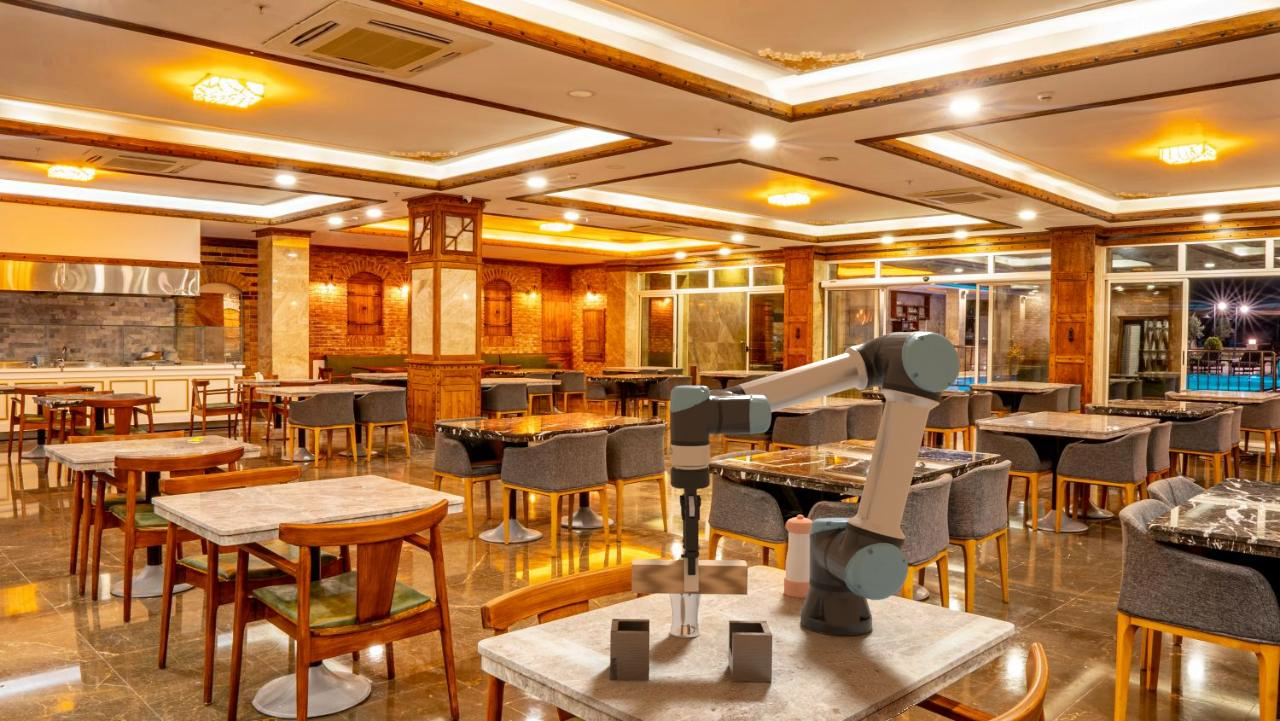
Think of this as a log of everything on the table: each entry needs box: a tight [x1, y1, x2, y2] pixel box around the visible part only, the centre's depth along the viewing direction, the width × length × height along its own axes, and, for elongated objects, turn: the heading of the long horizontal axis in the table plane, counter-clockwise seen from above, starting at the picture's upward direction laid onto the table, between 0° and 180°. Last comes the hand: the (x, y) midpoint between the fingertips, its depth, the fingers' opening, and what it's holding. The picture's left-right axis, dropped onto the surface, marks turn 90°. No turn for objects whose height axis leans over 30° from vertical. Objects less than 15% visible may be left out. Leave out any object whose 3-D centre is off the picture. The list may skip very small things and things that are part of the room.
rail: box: [631, 558, 749, 596], centre depth 168 cm, size 22×4×6 cm, turn 89°
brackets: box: [609, 618, 773, 683], centre depth 161 cm, size 29×8×8 cm, turn 89°
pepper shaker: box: [783, 514, 814, 599], centre depth 212 cm, size 7×7×19 cm
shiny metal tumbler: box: [669, 557, 702, 639], centre depth 182 cm, size 7×7×15 cm
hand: (690, 587), depth 168 cm, fingers closed on rail, 4 cm apart
